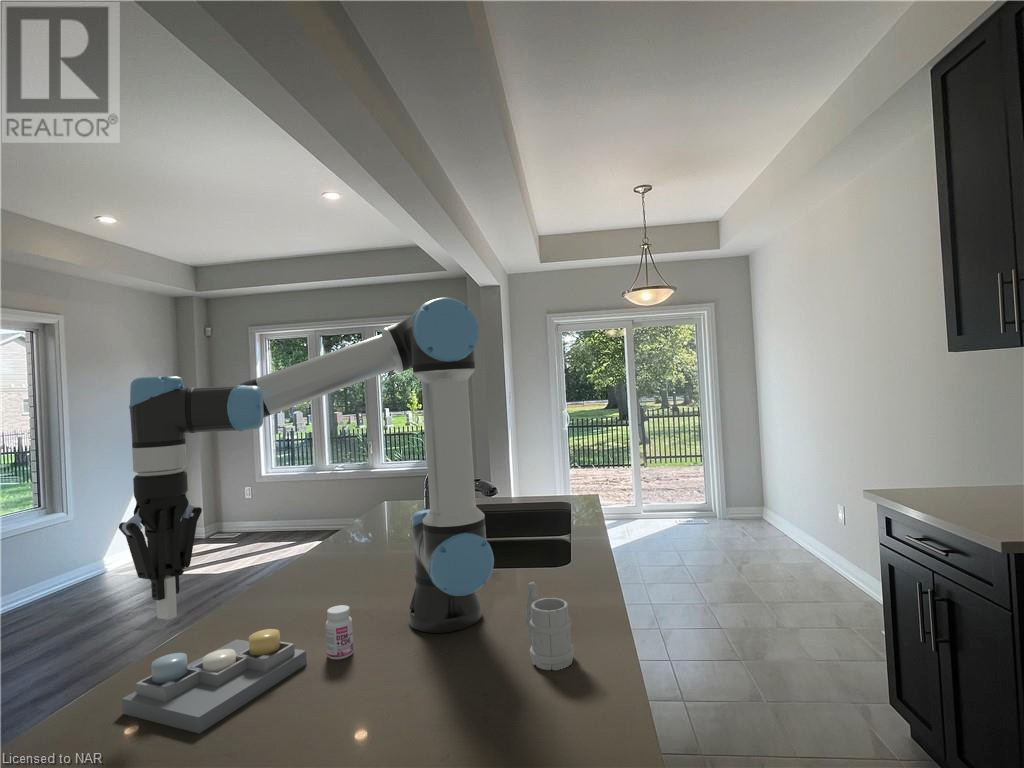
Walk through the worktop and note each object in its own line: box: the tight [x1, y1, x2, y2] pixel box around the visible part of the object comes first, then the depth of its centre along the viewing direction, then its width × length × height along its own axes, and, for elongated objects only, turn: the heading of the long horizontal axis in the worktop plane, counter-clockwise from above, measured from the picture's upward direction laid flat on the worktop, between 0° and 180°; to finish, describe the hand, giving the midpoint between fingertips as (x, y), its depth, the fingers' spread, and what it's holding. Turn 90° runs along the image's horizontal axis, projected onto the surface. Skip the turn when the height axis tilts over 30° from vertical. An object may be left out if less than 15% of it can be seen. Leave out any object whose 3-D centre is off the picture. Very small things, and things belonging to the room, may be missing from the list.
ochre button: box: [248, 628, 281, 655], centre depth 103 cm, size 5×5×2 cm
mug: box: [525, 581, 575, 671], centre depth 104 cm, size 8×12×12 cm, turn 28°
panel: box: [121, 638, 308, 734], centre depth 99 cm, size 17×22×4 cm
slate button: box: [150, 652, 188, 683], centre depth 95 cm, size 5×5×2 cm
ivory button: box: [203, 649, 236, 673], centre depth 99 cm, size 5×5×2 cm
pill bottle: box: [325, 604, 354, 660], centre depth 109 cm, size 5×5×8 cm
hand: (167, 617), depth 96 cm, fingers closed
